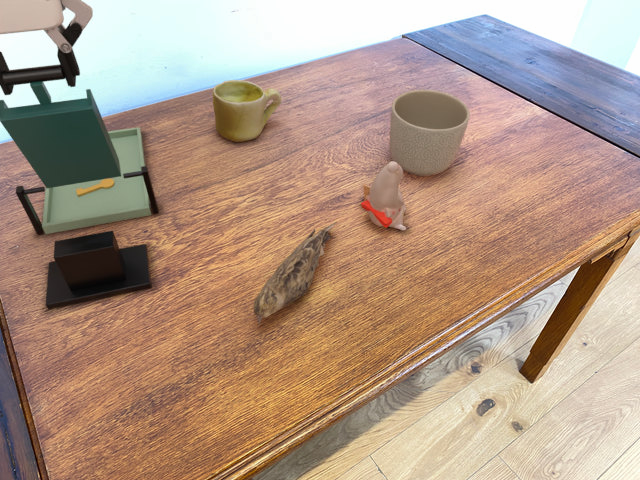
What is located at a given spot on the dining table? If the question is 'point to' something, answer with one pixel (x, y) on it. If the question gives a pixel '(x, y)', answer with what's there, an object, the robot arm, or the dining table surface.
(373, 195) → the figurine
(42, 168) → the scoop
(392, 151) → the planter
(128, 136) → the tray
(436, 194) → the dining table surface
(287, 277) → the bird model
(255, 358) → the dining table surface
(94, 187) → the key
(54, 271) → the stand
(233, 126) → the mug
